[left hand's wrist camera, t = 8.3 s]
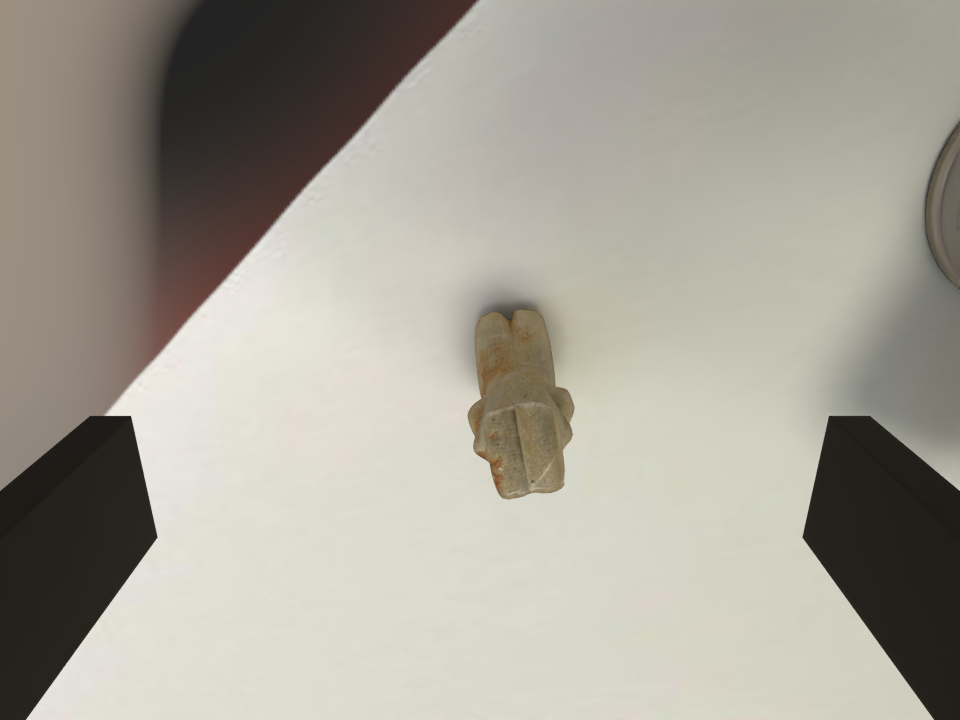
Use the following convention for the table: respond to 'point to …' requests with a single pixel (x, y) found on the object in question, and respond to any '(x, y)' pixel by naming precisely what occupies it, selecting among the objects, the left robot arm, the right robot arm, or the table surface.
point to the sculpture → (519, 405)
